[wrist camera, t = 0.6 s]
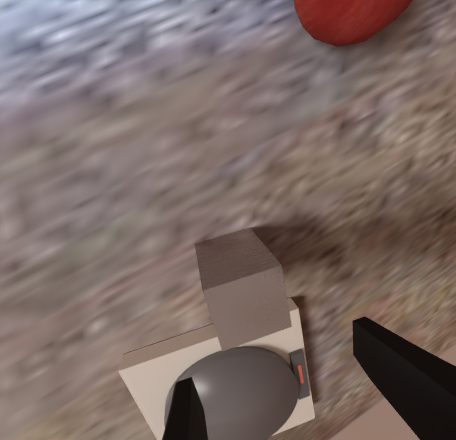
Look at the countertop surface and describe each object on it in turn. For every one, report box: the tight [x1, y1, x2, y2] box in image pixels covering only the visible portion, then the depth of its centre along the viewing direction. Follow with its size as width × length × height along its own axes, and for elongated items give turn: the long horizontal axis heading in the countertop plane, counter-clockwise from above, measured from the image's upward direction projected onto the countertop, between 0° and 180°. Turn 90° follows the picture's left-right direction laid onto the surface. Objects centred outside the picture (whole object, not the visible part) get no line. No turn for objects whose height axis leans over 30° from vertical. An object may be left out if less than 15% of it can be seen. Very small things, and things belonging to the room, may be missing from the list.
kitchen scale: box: [119, 298, 315, 440], centre depth 22 cm, size 15×15×2 cm
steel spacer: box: [195, 228, 292, 351], centre depth 16 cm, size 4×4×6 cm
